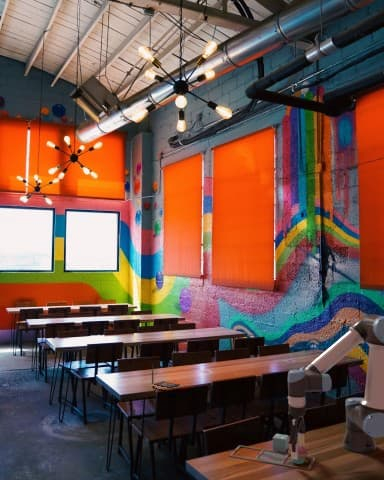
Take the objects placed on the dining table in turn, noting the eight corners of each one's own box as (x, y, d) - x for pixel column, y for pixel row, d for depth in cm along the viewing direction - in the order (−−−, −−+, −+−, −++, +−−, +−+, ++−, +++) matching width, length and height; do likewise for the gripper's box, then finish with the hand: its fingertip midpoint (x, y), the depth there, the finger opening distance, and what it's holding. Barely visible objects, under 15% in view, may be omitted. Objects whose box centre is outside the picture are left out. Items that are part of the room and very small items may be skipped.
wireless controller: (181, 389, 340) (181, 365, 342) (168, 393, 330) (168, 368, 331) (161, 385, 353) (160, 362, 354) (148, 388, 342) (148, 365, 343)
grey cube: (276, 446, 228) (276, 433, 229) (288, 448, 226) (288, 435, 226) (273, 450, 223) (272, 437, 223) (285, 452, 220) (285, 439, 221)
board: (239, 445, 229) (239, 445, 229) (315, 458, 213) (315, 457, 213) (229, 456, 216) (229, 455, 216) (309, 470, 200) (309, 469, 200)
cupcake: (305, 458, 214) (304, 431, 214) (310, 465, 205) (309, 437, 206) (286, 458, 213) (285, 431, 214) (291, 466, 205) (290, 438, 206)
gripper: (295, 397, 224) (296, 442, 222) (281, 411, 201) (282, 462, 200) (310, 399, 221) (312, 445, 219) (298, 414, 198) (300, 465, 197)
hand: (298, 453), depth 210 cm, fingers open, 13 cm apart
